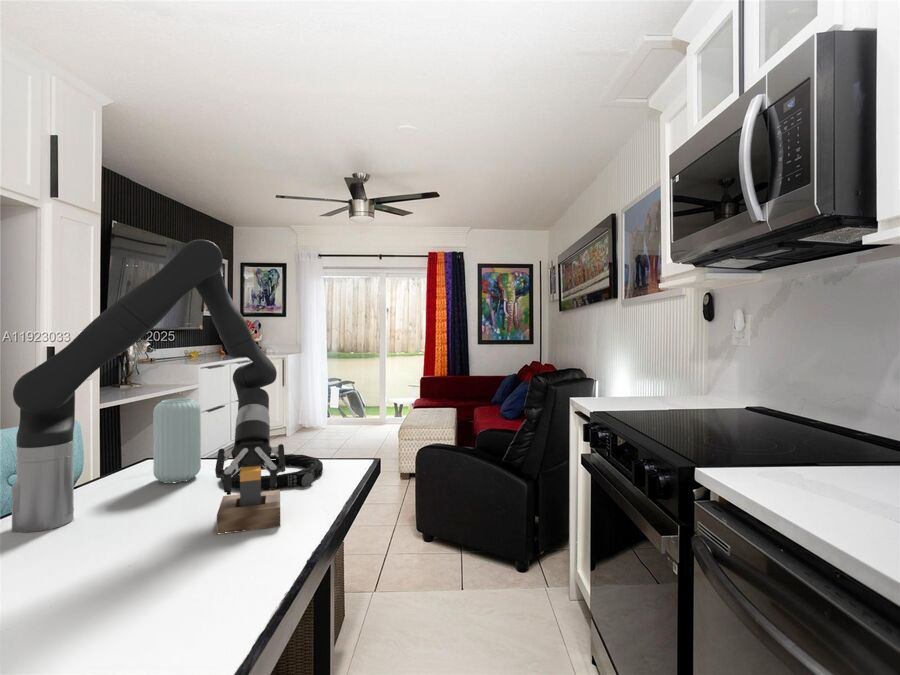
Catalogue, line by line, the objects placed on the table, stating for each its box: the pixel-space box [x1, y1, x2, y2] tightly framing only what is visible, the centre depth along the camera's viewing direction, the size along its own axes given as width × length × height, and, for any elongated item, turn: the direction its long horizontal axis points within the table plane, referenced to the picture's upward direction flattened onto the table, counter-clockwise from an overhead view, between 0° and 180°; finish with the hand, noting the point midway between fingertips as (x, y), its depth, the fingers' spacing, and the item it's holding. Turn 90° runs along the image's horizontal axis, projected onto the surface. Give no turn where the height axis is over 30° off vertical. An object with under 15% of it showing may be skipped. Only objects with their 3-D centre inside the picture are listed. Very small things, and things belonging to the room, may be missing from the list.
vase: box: [152, 398, 202, 484], centre depth 133 cm, size 12×12×22 cm
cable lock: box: [220, 453, 324, 490], centre depth 136 cm, size 28×4×30 cm
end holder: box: [216, 489, 281, 534], centre depth 103 cm, size 12×12×4 cm
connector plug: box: [239, 466, 262, 507], centre depth 103 cm, size 4×4×10 cm
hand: (250, 490), depth 102 cm, fingers open, 8 cm apart
